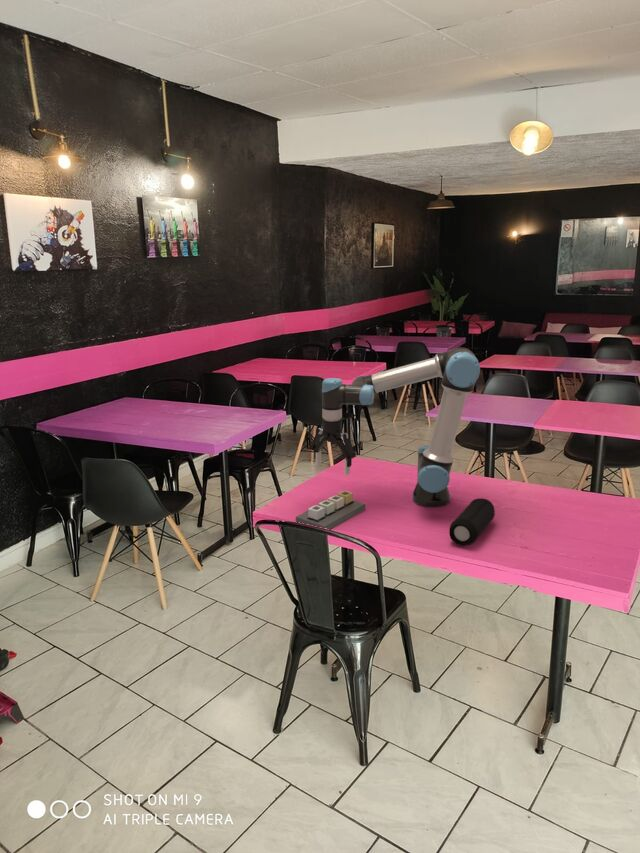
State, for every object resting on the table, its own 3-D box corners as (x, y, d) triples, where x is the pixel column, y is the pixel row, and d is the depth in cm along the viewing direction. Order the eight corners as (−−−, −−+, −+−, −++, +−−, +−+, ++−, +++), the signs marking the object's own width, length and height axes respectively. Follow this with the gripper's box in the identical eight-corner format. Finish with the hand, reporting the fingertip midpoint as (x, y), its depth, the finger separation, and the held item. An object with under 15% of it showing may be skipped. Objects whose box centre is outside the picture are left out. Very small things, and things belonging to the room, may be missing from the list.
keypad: (365, 509, 249) (365, 503, 248) (324, 532, 229) (324, 526, 229) (337, 501, 257) (337, 495, 256) (295, 522, 238) (295, 516, 237)
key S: (353, 500, 249) (352, 492, 248) (346, 504, 246) (346, 496, 245) (344, 498, 252) (344, 490, 251) (337, 501, 249) (337, 493, 248)
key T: (343, 505, 245) (343, 497, 244) (337, 509, 242) (336, 501, 241) (335, 503, 248) (334, 494, 247) (328, 506, 244) (328, 498, 243)
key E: (324, 516, 236) (324, 507, 235) (317, 520, 233) (317, 511, 232) (315, 513, 239) (315, 504, 238) (308, 516, 235) (308, 508, 234)
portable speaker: (470, 518, 240) (471, 493, 237) (496, 523, 235) (497, 498, 232) (446, 544, 219) (447, 518, 216) (473, 551, 214) (475, 525, 211)
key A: (334, 510, 240) (334, 502, 239) (327, 514, 237) (327, 506, 236) (325, 507, 243) (325, 499, 242) (318, 511, 240) (318, 503, 239)
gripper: (365, 421, 235) (364, 474, 241) (311, 411, 249) (312, 462, 255) (354, 426, 229) (354, 480, 235) (300, 416, 243) (301, 467, 249)
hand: (332, 470), depth 245 cm, fingers open, 13 cm apart
